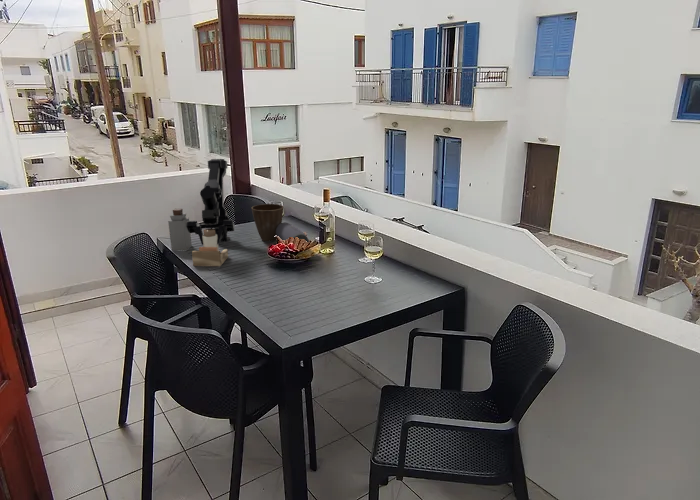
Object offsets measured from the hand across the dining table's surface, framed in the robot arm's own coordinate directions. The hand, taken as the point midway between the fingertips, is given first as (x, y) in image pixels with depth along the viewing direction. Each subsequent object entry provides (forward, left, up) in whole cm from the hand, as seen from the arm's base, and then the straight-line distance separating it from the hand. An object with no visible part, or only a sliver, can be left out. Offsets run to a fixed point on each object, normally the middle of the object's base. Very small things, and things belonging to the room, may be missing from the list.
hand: (210, 244), depth 193 cm
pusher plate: (+2, 0, -7) cm, 8 cm away
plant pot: (-33, +18, -8) cm, 38 cm away
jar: (-1, 0, -7) cm, 7 cm away
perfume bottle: (-18, -19, -8) cm, 27 cm away
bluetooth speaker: (-20, +31, -8) cm, 37 cm away
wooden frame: (-1, 0, -8) cm, 8 cm away
